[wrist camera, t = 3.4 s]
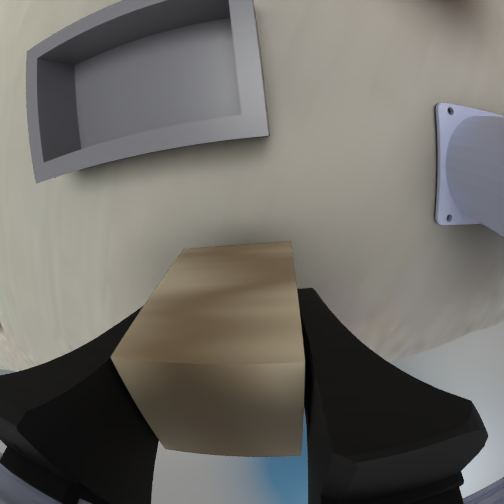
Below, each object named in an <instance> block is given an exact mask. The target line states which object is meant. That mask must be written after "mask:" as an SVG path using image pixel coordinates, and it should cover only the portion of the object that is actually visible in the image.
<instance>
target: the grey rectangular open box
mask: <svg viewBox="0 0 504 504" xmlns="http://www.w3.org/2000/svg"><path fill="white" fill-rule="evenodd" d="M26 101H27V119H28V131H29V140H30V149H31V156H32V163H33V169H34V175H35V180H36V183H39V182H42V181H45V180H48V179H51V178H54V177H57V176H60V175H64V174H67V173H70V172H73V171H77V170H80V169H84V168H87V167H91V166H95V165H99V164H102V163H106V162H110V161H114V160H119V159H123V158H127V157H132V156H136V155H141V154H145V153H150V152H155V151H160V150H166V149H171V148H177V147H183V146H189V145H195V144H201V143H208V142H216V141H223V140H231V139H240V138H249V137H260V136H270V133H269V123H268V113H267V104H266V95H265V86H264V78H263V69H262V61H261V53H260V45H259V37H258V30H257V22H256V15H255V8H254V2H253V0H122V1H120V2H117V3H115V4H113V5H110V6H108V7H106V8H103V9H101V10H99V11H97V12H95V13H92V14H90V15H88V16H86V17H84V18H82V19H80V20H78V21H76V22H75V23H73V24H71V25H69V26H67V27H65V28H64V29H62V30H60V31H58V32H57V33H55V34H53V35H52V36H50V37H48V38H47V39H45V40H43V41H42V42H40V43H39V44H37V45H36V46H34V47H33V48H31V49H30V50H28V51H27V62H26Z"/></svg>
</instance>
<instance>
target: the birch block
mask: <svg viewBox="0 0 504 504" xmlns="http://www.w3.org/2000/svg"><path fill="white" fill-rule="evenodd" d="M111 359H112V361H113V363H114V365H115V367H116V369H117V371H118V373H119V375H120V377H121V378H122V380H123V382H124V384H125V386H126V388H127V389H128V391H129V393H130V395H131V396H132V398H133V400H134V402H135V403H136V405H137V407H138V408H139V410H140V412H141V413H142V415H143V416H144V418H145V420H146V421H147V423H148V424H149V426H150V427H151V429H152V430H153V432H154V433H155V435H156V436H157V438H158V439H159V441H160V442H161V443H162V445H163V446H164V448H165V449H169V450H176V451H183V452H191V453H200V454H210V455H224V456H243V457H244V456H245V457H280V456H301V451H302V435H303V414H304V387H305V356H304V346H303V336H302V327H301V318H300V309H299V301H298V293H297V285H296V277H295V269H294V261H293V254H292V247H291V241H289V242H274V243H260V244H245V245H231V246H217V247H203V248H189V249H183V251H182V252H181V254H180V255H179V256H178V258H177V259H176V261H175V262H174V263H173V265H172V266H171V267H170V269H169V270H168V272H167V273H166V275H165V276H164V277H163V279H162V280H161V282H160V283H159V285H158V286H157V287H156V289H155V290H154V292H153V293H152V295H151V296H150V298H149V299H148V300H147V302H146V303H145V305H144V306H143V308H142V309H141V311H140V312H139V314H138V315H137V317H136V318H135V320H134V321H133V323H132V324H131V326H130V327H129V329H128V330H127V332H126V334H125V335H124V337H123V338H122V340H121V341H120V343H119V344H118V346H117V348H116V349H115V351H114V352H113V354H112V355H111Z"/></svg>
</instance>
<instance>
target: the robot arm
mask: <svg viewBox="0 0 504 504" xmlns="http://www.w3.org/2000/svg"><path fill="white" fill-rule="evenodd" d="M448 108H449V109H450V111H451V113H450V115H449V113H448V111H447V110H448ZM436 121H437V143H438V178H437V201H436V214H435V220H436V222H437V223H438V224H440V225H464V224H483V225H485V226H487V227H488V228H490V229H491V230H493V231H495V232H496V233H498V234H500V235H501V236H503V237H504V116H502V115H499V114H495V113H491V112H487V111H483V110H479V109H474V108H470V107H465V106H460V105H455V104H449V103H438V104H437V105H436ZM448 215H449V219H448V220H446V218H447V216H448ZM297 293H298V301H299V309H300V318H301V327H302V336H303V346H304V356H305V387H304V408H305V415H306V424H307V444H308V445H307V446H308V504H504V477H503V478H501V479H500V480H498V481H496V482H495V483H493V484H491V485H489V486H487V487H485V488H483V489H481V490H480V491H478V492H476V493H474V494H472V495H470V496H468V497H465V498H463V499H462V496H461V492H460V489H459V486H461V485H462V484H463V483H464V479H463V476H462V473H461V470H462V469H463V468H464V467H465V466H466V465H467V464H468V463H469V462H470V461H471V460H472V459H473V458H474V457H475V456H476V455H477V454H478V453H479V452H480V450H481V449H482V448H483V447H484V445H485V442H486V440H487V438H488V434H487V431H486V429H485V426H484V424H483V422H482V419H481V417H480V415H479V413H478V411H477V410H476V408H475V406H474V405H473V403H472V401H470V400H467V399H465V398H461V397H459V396H456V395H453V394H450V393H448V392H445V391H443V390H439V389H437V388H435V387H433V386H431V385H429V384H427V383H424V382H422V381H420V380H418V379H416V378H414V377H412V376H410V375H409V374H407V373H405V372H403V371H401V370H400V369H398V368H397V367H395V366H394V365H392V364H390V363H389V362H387V361H386V360H384V359H383V358H381V357H380V356H378V355H377V354H376V353H374V352H373V351H372V350H371V349H369V348H368V347H367V346H365V345H364V344H363V343H362V342H361V341H360V340H359V339H357V338H356V337H355V336H354V335H353V334H352V333H351V332H350V331H349V330H348V329H347V328H346V327H345V326H344V325H343V324H342V323H341V322H340V321H339V320H338V318H337V317H336V316H335V315H334V314H333V313H332V312H331V311H330V309H329V308H328V307H327V306H326V304H325V303H324V302H323V301H322V299H321V298H320V297H319V295H318V294H317V292H316V291H315V290H314V289H313V288H305V289H297ZM142 308H143V307H141V308H140V309H138V310H137V311H135V312H134V313H133V314H131V315H130V316H128V317H127V318H126V319H124V320H123V321H121V322H120V323H118V324H117V325H115V326H114V327H112V328H111V329H109V330H108V331H106V332H105V333H103V334H102V335H100V336H99V337H97V338H95V339H94V340H92V341H90V342H89V343H87V344H85V345H83V346H81V347H79V348H78V349H76V350H74V351H72V352H70V353H68V354H65V355H63V356H61V357H58V358H56V359H54V360H51V361H49V362H47V363H44V364H41V365H38V366H35V367H32V368H29V369H26V370H22V371H19V372H15V373H10V374H5V375H0V440H1V441H2V442H3V443H4V444H5V445H6V446H7V448H6V450H5V452H4V453H3V454H2V453H0V504H151V492H152V481H153V472H154V464H155V459H156V453H157V447H158V442H159V439H158V438H157V436H156V435H155V433H154V432H153V430H152V429H151V427H150V426H149V424H148V423H147V421H146V420H145V418H144V416H143V415H142V413H141V412H140V410H139V408H138V407H137V405H136V403H135V402H134V400H133V398H132V396H131V395H130V393H129V391H128V389H127V388H126V386H125V384H124V382H123V380H122V378H121V377H120V375H119V373H118V371H117V369H116V367H115V365H114V363H113V361H112V359H111V355H112V354H113V352H114V351H115V349H116V348H117V346H118V344H119V343H120V341H121V340H122V338H123V337H124V335H125V334H126V332H127V330H128V329H129V327H130V326H131V324H132V323H133V321H134V320H135V318H136V317H137V315H138V314H139V312H140V311H141V309H142Z"/></svg>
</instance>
